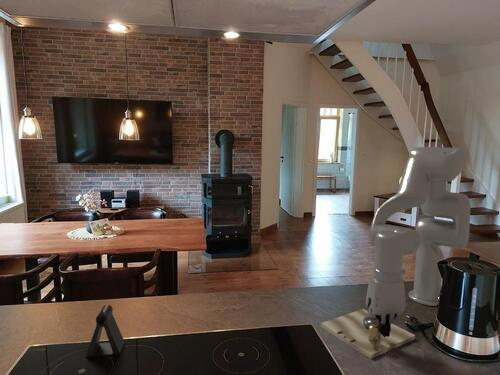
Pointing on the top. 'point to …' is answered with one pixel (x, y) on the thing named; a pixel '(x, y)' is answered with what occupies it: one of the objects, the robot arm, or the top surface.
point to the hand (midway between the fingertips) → (384, 334)
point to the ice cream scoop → (372, 329)
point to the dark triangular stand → (112, 333)
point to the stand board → (365, 334)
